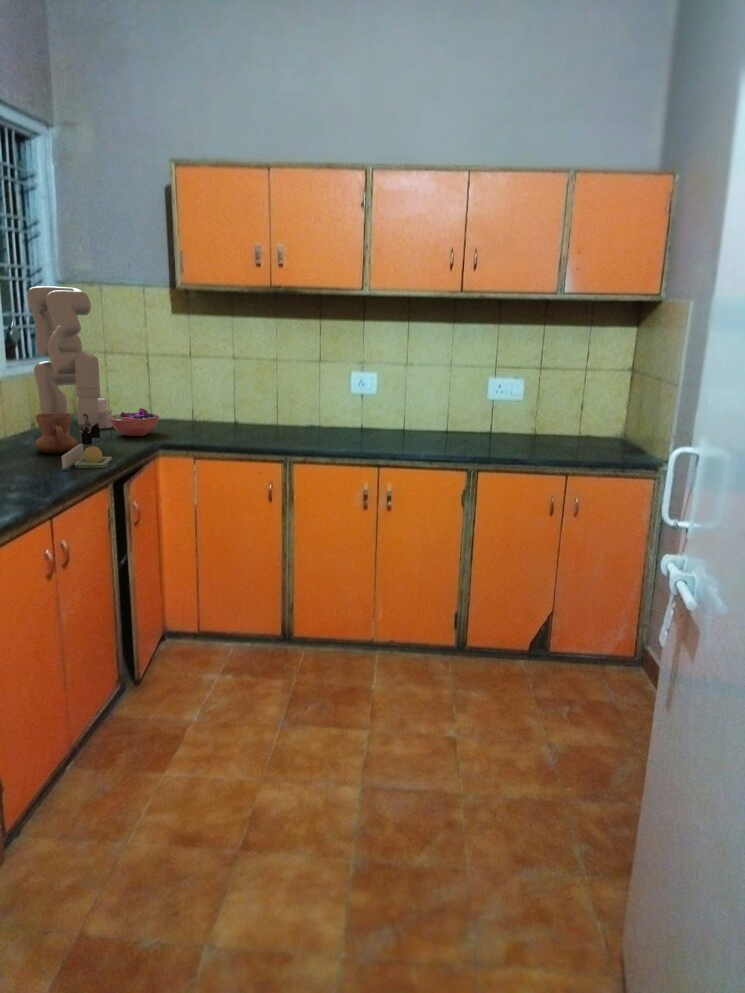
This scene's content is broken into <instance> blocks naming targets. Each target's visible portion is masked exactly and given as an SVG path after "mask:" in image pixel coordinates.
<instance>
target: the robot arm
mask: <svg viewBox="0 0 745 993" xmlns="http://www.w3.org/2000/svg"><path fill="white" fill-rule="evenodd" d="M27 303H28V306H29V309H30V311H31V314H32V316H33V320H34V328H35V329H34V330H35V342H36V349H37V350H36V351H37V353H38V355H39V356H41V357H43V358H49V360H43V361H40V362H37V363H36V364H35V365H34V369H33V373H34V379H35V381H36V385H37V386H36V387H37V389H38V397H39V399H38V400H39V406H40V409H39V411H40V414H41V413H48V412H51V413H54V412H63V413H68V406H67V405H68V404H67V396H66V395H65V393H64V392H63V391H62V390H61V389H60V388H59V387H63V386H75V392H76V397H77V425H78V427H80V430H81V431H80V433H81V435H80V436H81V444H83V446H84V445H86V446H87V445H88V446H91V445H92V446H93V439H100V438H101V429H100V427H99V420H100V412H99V400H98V397H101V384H100V382H101V381H100V367H99V366H100V365H99V358H98V357H97V356H96V355H94V354H93V353H92V352H89V351H83V345H82V341H81V340H82V339H81V337H80V336H79V334H80V332H81V329H82V326H81V323H80V321H79V320H80V319H79V318H78V316H87V315H89V314H90V312H91V308H92V305H91V301H90V298H89V296H88V294H87V293H86V292H85V291H83V290H80V289H78V288H76V287H69V286H67V287H66V286H49V285H47V286H46V285H45V286H44V285H41V286H40V285H39V286H38V285H37V286H31V287H30V288H29V289H28V290H27ZM68 434H69V435H70V430H69V431H68Z"/></svg>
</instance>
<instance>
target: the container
mask: <svg viewBox="0 0 745 993" xmlns="http://www.w3.org/2000/svg"><path fill="white" fill-rule="evenodd" d="M98 400H99V412H100V420H99V427H100V430H101V429H110V428H112V427H113V426H112V423H111V418H110V417H112V416H113V415H112V410H111V409H108V403H107V398H106V397H101V396H100V397H98Z"/></svg>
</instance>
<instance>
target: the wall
mask: <svg viewBox="0 0 745 993" xmlns="http://www.w3.org/2000/svg"><path fill="white" fill-rule="evenodd" d="M84 451H85V449H84V445H83V444H82V443H79V444H77V446H76V447H74V448H73V449H71V450H70V451H69V452H67V453H63V455H62V456H61V466H62V469H63V468H66V467H68V466H69V465H71V464H72V463H74V462H75V461H77V460H78V459H80V458H81V457H83V456H84Z"/></svg>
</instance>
